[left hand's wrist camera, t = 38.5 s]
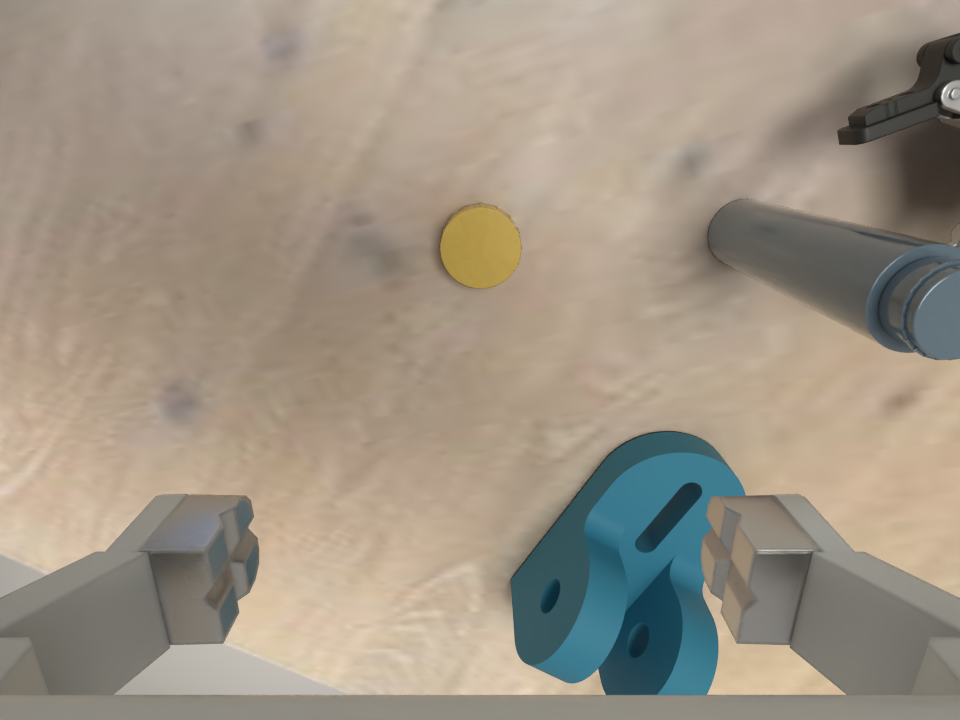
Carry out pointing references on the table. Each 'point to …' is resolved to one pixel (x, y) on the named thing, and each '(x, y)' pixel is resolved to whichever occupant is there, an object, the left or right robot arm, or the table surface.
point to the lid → (480, 246)
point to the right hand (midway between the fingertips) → (857, 219)
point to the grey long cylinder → (849, 273)
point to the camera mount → (628, 573)
